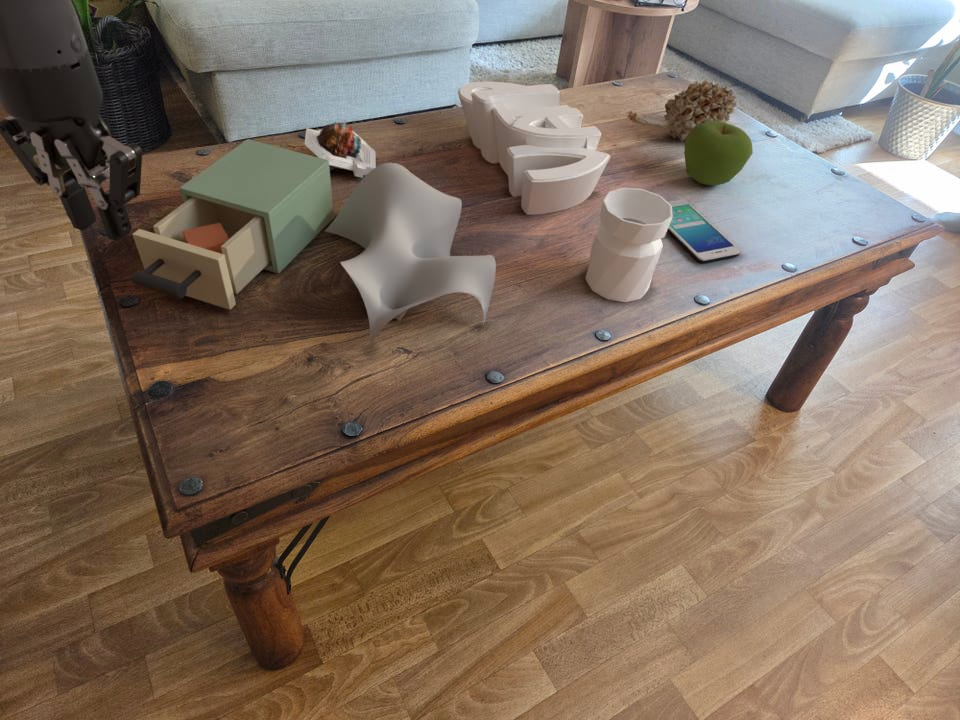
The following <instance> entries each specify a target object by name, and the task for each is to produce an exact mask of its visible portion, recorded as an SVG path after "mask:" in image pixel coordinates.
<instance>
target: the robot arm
mask: <svg viewBox="0 0 960 720" xmlns="http://www.w3.org/2000/svg"><path fill="white" fill-rule="evenodd" d="M103 99H104V94H103V90H102V87H101V84H100V80H99V77H98V74H97V72H96V68H95V65H94V62H93V59H92V56H91V53H90V50H89V46H88V44H87V41H86V37H85V35H84V31H83V28H82V25H81V22H80V19H79V16H78V14H77V11H76V9H75V6H74V4H73V2H72V0H0V107H1V109H2V110H3V111H4V112H5V113H6V114H7V115H8V116H6V117H5V118H2V119H0V136H1V137H2V138H3V139H4V141H5V143H6V144H7V145H8V147H9V149H11V151H12V152H13V154H14V156H15V157H16V158H17V159H18V161H19V162H20V163H21V164H22V166H23V168H24V169H25V170H26V172H27V173H28V174H29V176H30V177H31V179H32V181H34V183H36V184H37V185H39V186H43V185H47V186H49V189H50V190H51V191H52V193H54V195H55V196H58V197H59V199H60V202H61V203H62V204H61V205H62V207H63V209H64V211H65V214H66V216H67V217H68V219H69V220H70V222H71V224H72V227H73V228H74V229H76V230H79V231H85V230H86V229H88V228H89V227H91V226H92V225H93V224H95V223H96V221H97V216H96V214H95V211H94V209H93V206H92V203H91V200H90V198H89V195H88V192H89V193H90V195H91V196H92V198H93V200H94V202H95V204H96V206H97V207H96V209H97V212H98V214H99V218H100V219H101V222H102V225H103V227H104V231H105V233H106V235H107V238H108V239H109V240H111V241H115V242H119V241H121V240H122V239H123V238H125V237H126V236H128V235H129V234H130V233H131V231H132V228H133V227H132V222H131V221H130V217H129V214H128V212H127V208H126V204H128V203H129V202H131V201H132V200H134V199H136V198H138V197H139V196H140V195H141V186H142V185H141V181H142V165H143V150H142V148H141V147H140V145H138V144H137V143H135V142H131V143H129V144H128V145H125V144H123V143H122V142H120V141H118V140H117V139H116V138H114V137H112V133H111V130H110V128H109V127H108V125H107V124H106V122H105V121H104V119H103V117H102V115H101V107H102V102H103ZM35 155H37V159H38V163H39V165H38V163H37V162H36V160H35V159H34V156H35ZM94 168H95V169H94ZM93 169H94V170H93ZM91 170H92V171H91ZM104 181H105V184H106V185H107V187H108V189H106V190H104V188H103V186H102V183H103V182H104ZM86 188H87V189H88V192H87V191H86Z"/></svg>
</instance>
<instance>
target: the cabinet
mask: <svg viewBox="0 0 960 720" xmlns="http://www.w3.org/2000/svg"><path fill="white" fill-rule="evenodd" d="M179 192H180V196H181V199H182V204H183V203H185V202H186V201H187V200H189V199H190V198H191V197H196V198H199V199H202V200H206V201H209V202H213V203H216V204H220V205H223V206H227V207H230V208H234V209H237V210H241V211H244V212H248V213H251V214H255V215H258V216H262V217H264V221H265V227H266V232H267V238H268V244H269V249H270V255H271V262H270V263H269V264H268V265H267V266H266V267H265V268H263V269H262V270H265V271H268V272H272V273H273V274H274V273H275V274H278V275H280V273H281V272H282V271H283V270H284V269H286V268H287V266H288V265H290V263H291V262H292V261H293V260H294V259H295V258H296V257H297V256H299V254H301V252H302V251H303V250H304V249H306V247H307V246H308V245H309V244H310V243H311V242H312V241H313V240H314V239H315V238H316V237H317V236H318V235H319V234H320V233H321V232H322V230H324V229H325V228H326V227H327V226H328V225H329V223H331V222H332V221H333V220H334V219H335V216H334V215H335V214H334V205H333V194H332V193H333V192H332V180H331V171H330V169H329V160H325V159H321V158H318V157H317V156H315V155H309V154H306V153H302V152H299V151H295V150H291V149H287V148H283V147H280V146H276V145H273V144H268V143H265V142H260V141H257V140H253V139H249V138H247V139H246V140H244V141H243V142H241V143H240V144H239V145H237V146H236V147H233V148H232V149H231V150H230V151H228V152H227V153H225V154H224V155H223V156H222V157H220V158H219V159H217V160H216V161H215V162H213V163H212V164H210V165H209V166H207V167H206V168H205V169H203V170H202V171H201V172H199V173H198V174H196V175H195V176H193V177H192V178H190V179H189V180H188V181H186V182H184V184H182V185H181V186H180V187H179Z"/></svg>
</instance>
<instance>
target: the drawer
mask: <svg viewBox="0 0 960 720" xmlns="http://www.w3.org/2000/svg"><path fill="white" fill-rule="evenodd" d="M215 223H221V225H222V227H223V229H224V231H225V232H226V234H227V236H228V238H229V240H228V241H227V242H225V243H224V244H223V245H222V246H221V250H222V254H220V253H217V252H214V251H210V250H207V249H204V248H201V247H197V246H194V245H191V244H187V243H185V239H184V235H183V232H182V231H183V230H188V229H193V228H197V227H202V226H206V225H211V224H215ZM152 228H153V231H154V232H150V231H148V230H145V229H141V228H138V229H137V230H135V231H134V232H133V233H132V235H131V236H132V238H133V240H134V243H135V246H136V249H137V252H138V255H139V257H140V261H141V264H142V266H143V270H140V269H137V270H135V271H133V273H132V275H131V282H132V283H133V284H134V285H138V286H140V287H144V288H147V289H150V290H153V291H156V292H159V293H162V294H165V295H169V296H171V297H175V298H178V299H183V298H185V296H186V297H189V298H191V299H194V300H198V301H201V302H204V303H206V304H207V303H208V304H211V305H213V306H217V307H220V308H223V309H226V310H232V309H233V308H234V307H235V306H236V305H237V303H236V299H235V295H238V294H239V293H240V292H241V291H242V290H243V289H244V288H245V287H246V286H247V285H248V284H249V283H250V282H252V280H254V279H255V278H256V276H258V275H259V273H261V271H263V270H264V269H263V268H265V267H266V266H267V265H268V264H269V263H270V262H271V255H270V249H269V244H268V238H267V232H266V227H265V221H264V217H262V216H258V215H255V214H251V213H248V212H244V211H241V210H237V209H234V208H230V207H227V206H223V205H220V204H216V203H213V202H209V201H206V200H202V199H199V198H196V197H191V198H190V199H189V200H187V201H186V202H185V203H183V202H182V204H180V205H179V206H178V207H176V208H175V209H174V210H172V211H171V212H169V214H167V215H166V216H165V217H163V218H161V219H160V220H159V221H157V222H156V223H155V224H153V226H152Z"/></svg>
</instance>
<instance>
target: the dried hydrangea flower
mask: <svg viewBox="0 0 960 720" xmlns="http://www.w3.org/2000/svg"><path fill="white" fill-rule="evenodd" d="M727 88H728V85H726V86H724V85H721V86H720V85H719V82H716V83H715V84H714V83H713V81H712V82H709V81H708V80H704V81H702V82H701V83H700V82H699V81H698V80H696V81H694V82H693V83H691V82H690V83H689V85H688V86H687V88H686V90H681V92H679V93H678V94H677V93H675V94H674V99H673V98H671V99H667V102H666V103H665V104H664V108H665V113H666V114H664V115H663V118H664V119H655V118H649V117H646V116H643V115H640V114H638V113H637V112H634V111H633V110H629V111H625V113H626V114H628V115H627V116H626V118H627V119H628V120H630V121H631V122H633V123H637V124H640V125H643V126H649V127H654V128H665V129H669V135H670V136H671V137H672V138H673V139H677V138H678V139H679V140H680V141H681V142H683V141H685V138H686V137H687V135H688V134H689V132H690V131H691V130H692V129H693V128H694V127H695V126H697V125H700V124H703V123H706V122H710V121H719V122H725V123H727V122H728V121H729V120H730V117H731V114H733V113H735V108H736V106H737V102H735V99H736V96H734V95H733V93H734V92H733V89H730V90H727Z"/></svg>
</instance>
